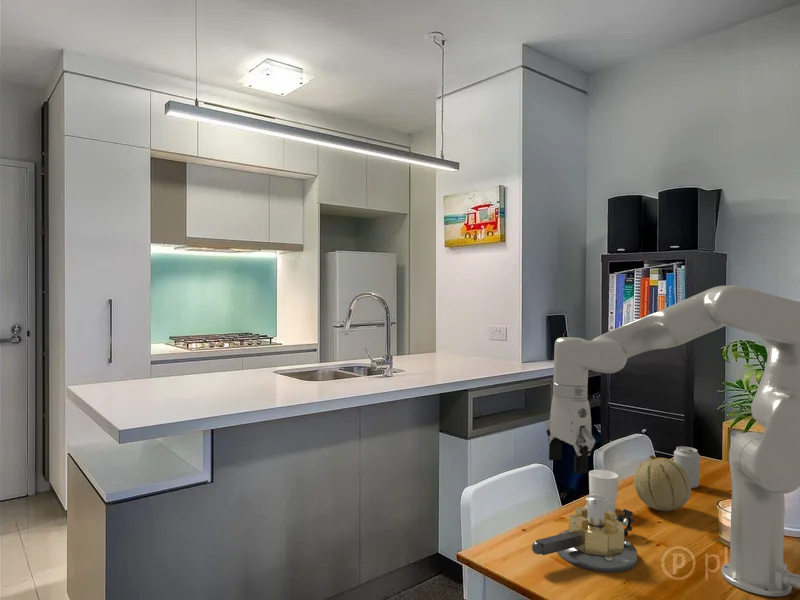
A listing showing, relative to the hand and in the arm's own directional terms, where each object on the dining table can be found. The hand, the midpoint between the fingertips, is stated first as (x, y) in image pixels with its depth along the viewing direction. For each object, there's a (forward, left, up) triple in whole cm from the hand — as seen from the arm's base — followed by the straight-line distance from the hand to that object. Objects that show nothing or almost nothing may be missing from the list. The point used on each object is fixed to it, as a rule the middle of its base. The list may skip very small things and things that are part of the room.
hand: (567, 466), depth 126 cm
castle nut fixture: (-1, -2, -19) cm, 19 cm away
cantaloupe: (-6, -48, -22) cm, 53 cm away
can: (-5, -75, -22) cm, 78 cm away
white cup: (+6, -36, -22) cm, 42 cm away
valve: (+1, -24, -22) cm, 32 cm away
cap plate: (-4, -8, -21) cm, 23 cm away
